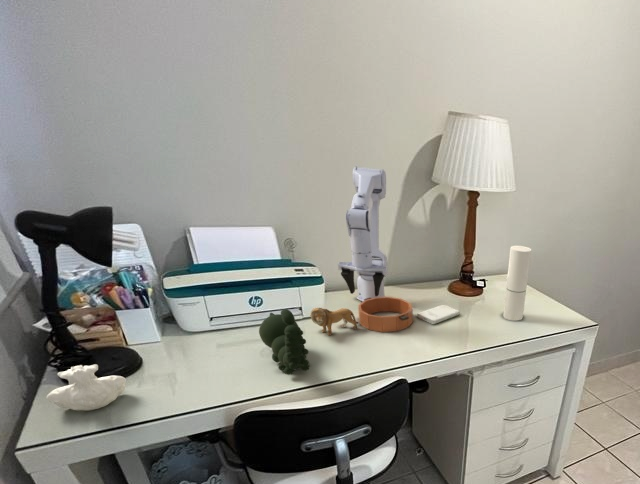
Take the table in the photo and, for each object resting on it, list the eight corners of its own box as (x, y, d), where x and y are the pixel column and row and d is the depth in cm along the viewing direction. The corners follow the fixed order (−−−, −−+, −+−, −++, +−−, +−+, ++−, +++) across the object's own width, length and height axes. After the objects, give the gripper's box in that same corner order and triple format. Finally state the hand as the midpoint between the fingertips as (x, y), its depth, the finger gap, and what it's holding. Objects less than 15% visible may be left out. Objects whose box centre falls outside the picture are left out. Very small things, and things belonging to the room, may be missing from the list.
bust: (61, 424, 85) (43, 405, 76) (48, 392, 86) (29, 370, 77) (136, 403, 92) (127, 384, 84) (123, 374, 93) (114, 352, 85)
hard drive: (459, 315, 147) (433, 324, 138) (442, 308, 151) (417, 317, 142) (459, 311, 146) (433, 320, 137) (443, 303, 150) (417, 312, 141)
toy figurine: (322, 382, 106) (293, 335, 121) (315, 317, 96) (283, 274, 110) (282, 392, 101) (257, 342, 115) (270, 325, 90) (243, 279, 105)
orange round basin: (346, 317, 136) (344, 303, 133) (387, 305, 148) (387, 292, 145) (384, 338, 126) (383, 323, 124) (425, 323, 138) (425, 310, 136)
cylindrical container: (523, 314, 154) (532, 247, 141) (521, 321, 148) (530, 252, 135) (504, 311, 154) (511, 244, 142) (502, 319, 148) (509, 249, 135)
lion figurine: (319, 341, 121) (315, 312, 116) (309, 334, 123) (305, 306, 119) (363, 327, 131) (360, 300, 127) (353, 321, 134) (350, 295, 129)
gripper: (332, 252, 120) (337, 295, 127) (382, 257, 121) (384, 300, 128) (340, 245, 126) (345, 288, 133) (388, 251, 127) (390, 292, 134)
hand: (364, 293), depth 131 cm, fingers open, 7 cm apart
